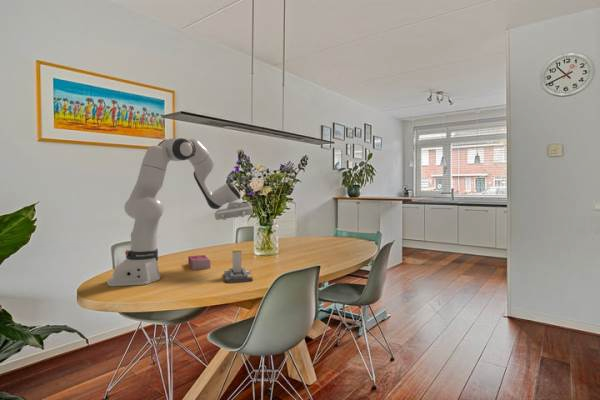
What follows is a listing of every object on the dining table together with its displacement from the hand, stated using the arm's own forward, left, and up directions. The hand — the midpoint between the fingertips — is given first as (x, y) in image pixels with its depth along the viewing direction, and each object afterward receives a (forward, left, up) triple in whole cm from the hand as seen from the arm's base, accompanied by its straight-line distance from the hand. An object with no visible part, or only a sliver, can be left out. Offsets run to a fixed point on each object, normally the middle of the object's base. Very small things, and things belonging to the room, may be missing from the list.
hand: (233, 217), depth 182 cm
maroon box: (-15, +20, -29) cm, 38 cm away
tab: (-1, -9, -26) cm, 28 cm away
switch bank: (-1, -14, -28) cm, 31 cm away
